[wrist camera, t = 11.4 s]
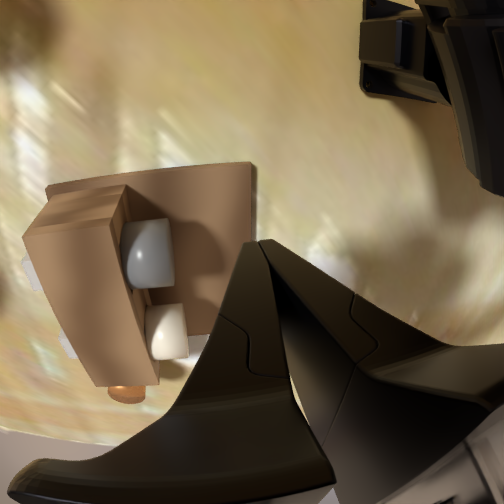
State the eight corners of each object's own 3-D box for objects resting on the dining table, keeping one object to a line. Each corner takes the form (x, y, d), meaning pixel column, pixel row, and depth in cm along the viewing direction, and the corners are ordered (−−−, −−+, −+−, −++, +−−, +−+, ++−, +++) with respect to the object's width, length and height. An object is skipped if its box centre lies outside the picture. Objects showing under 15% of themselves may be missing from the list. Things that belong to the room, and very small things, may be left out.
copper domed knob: (142, 341, 26) (139, 383, 23) (150, 362, 28) (149, 403, 24) (108, 342, 26) (102, 384, 22) (118, 364, 28) (114, 404, 24)
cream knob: (180, 291, 22) (181, 332, 19) (187, 328, 24) (189, 368, 21) (63, 301, 21) (51, 339, 18) (80, 335, 23) (71, 373, 20)
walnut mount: (249, 161, 19) (270, 200, 15) (249, 324, 27) (262, 377, 23) (48, 185, 17) (11, 229, 13) (101, 336, 25) (92, 390, 21)
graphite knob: (167, 206, 18) (163, 241, 15) (175, 259, 20) (174, 300, 17) (34, 223, 17) (10, 258, 14) (51, 271, 19) (34, 309, 16)
